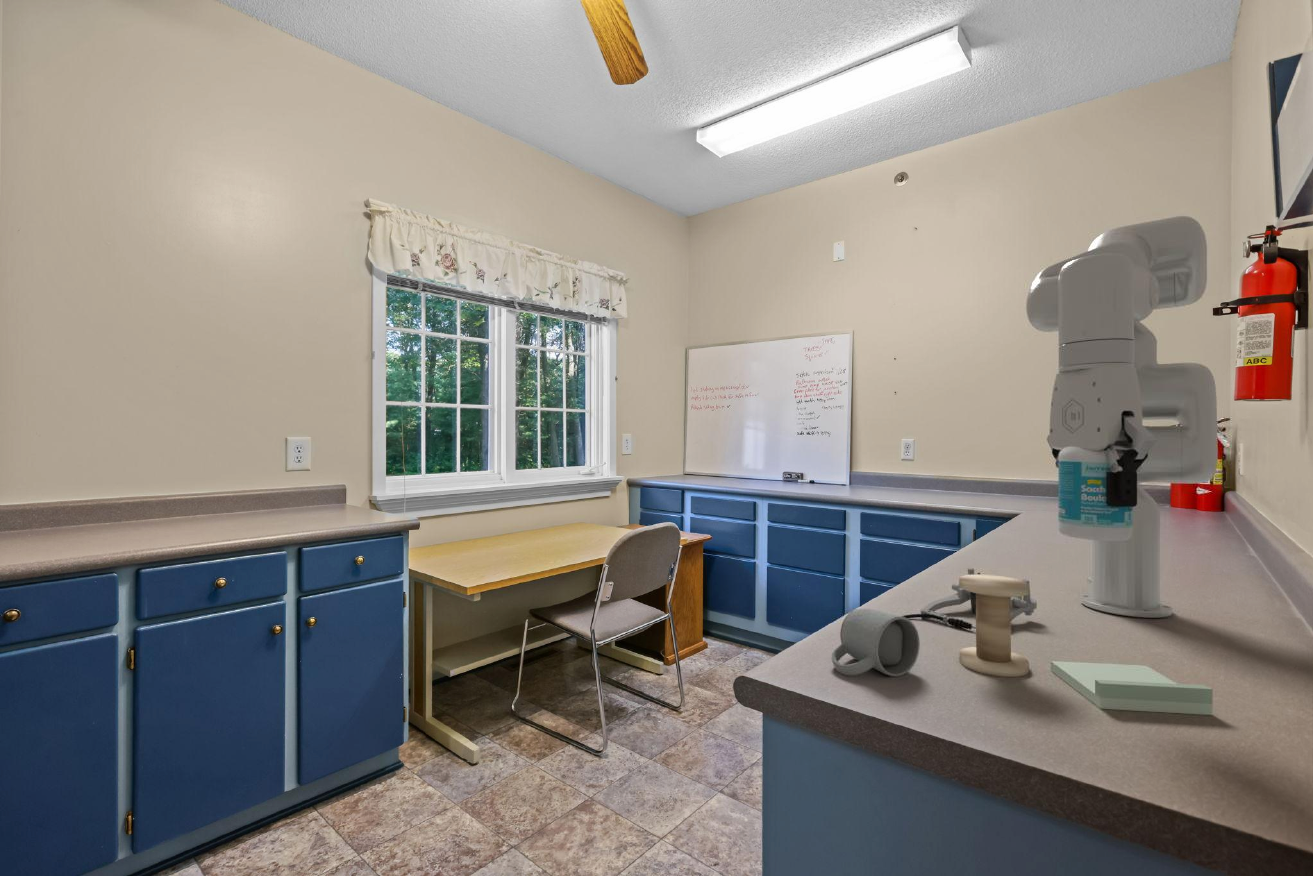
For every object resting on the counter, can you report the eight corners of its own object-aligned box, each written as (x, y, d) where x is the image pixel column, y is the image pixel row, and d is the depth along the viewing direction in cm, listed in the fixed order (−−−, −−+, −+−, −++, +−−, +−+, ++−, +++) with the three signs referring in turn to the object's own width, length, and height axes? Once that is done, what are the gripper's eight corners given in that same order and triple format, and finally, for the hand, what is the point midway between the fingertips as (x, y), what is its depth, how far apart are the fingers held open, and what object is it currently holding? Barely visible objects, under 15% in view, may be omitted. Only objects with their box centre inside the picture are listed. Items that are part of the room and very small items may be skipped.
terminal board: (1050, 670, 77) (1050, 648, 77) (1145, 675, 76) (1145, 652, 76) (1100, 708, 67) (1100, 683, 67) (1212, 715, 65) (1212, 689, 65)
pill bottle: (1083, 542, 71) (1083, 427, 71) (1045, 532, 78) (1044, 428, 78) (1149, 542, 70) (1148, 426, 70) (1104, 532, 78) (1104, 428, 78)
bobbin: (950, 652, 84) (950, 573, 84) (1012, 655, 83) (1012, 575, 83) (972, 675, 76) (971, 587, 76) (1040, 678, 75) (1040, 590, 75)
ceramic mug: (875, 651, 85) (874, 599, 84) (921, 671, 77) (920, 614, 77) (817, 665, 80) (816, 609, 80) (860, 687, 73) (859, 626, 73)
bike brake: (966, 598, 109) (894, 634, 99) (963, 562, 109) (890, 594, 99) (1046, 619, 98) (973, 661, 88) (1043, 578, 97) (970, 616, 87)
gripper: (1021, 367, 83) (1021, 496, 83) (1120, 348, 65) (1120, 511, 65) (1075, 367, 83) (1076, 495, 83) (1188, 348, 66) (1188, 511, 66)
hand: (1095, 501), depth 74 cm, fingers closed on pill bottle, 7 cm apart
